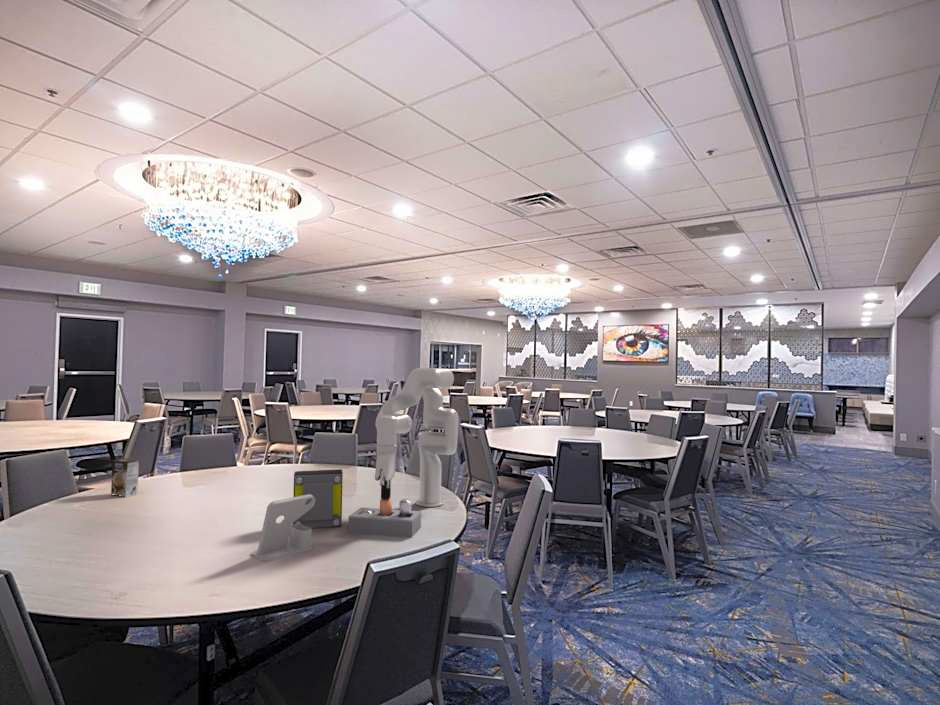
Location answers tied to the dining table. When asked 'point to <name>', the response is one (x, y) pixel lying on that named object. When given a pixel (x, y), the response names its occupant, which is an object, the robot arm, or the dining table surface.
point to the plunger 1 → (366, 512)
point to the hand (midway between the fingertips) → (385, 498)
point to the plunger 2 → (405, 508)
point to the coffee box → (124, 477)
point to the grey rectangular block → (384, 523)
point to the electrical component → (320, 497)
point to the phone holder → (285, 529)
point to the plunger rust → (385, 506)
